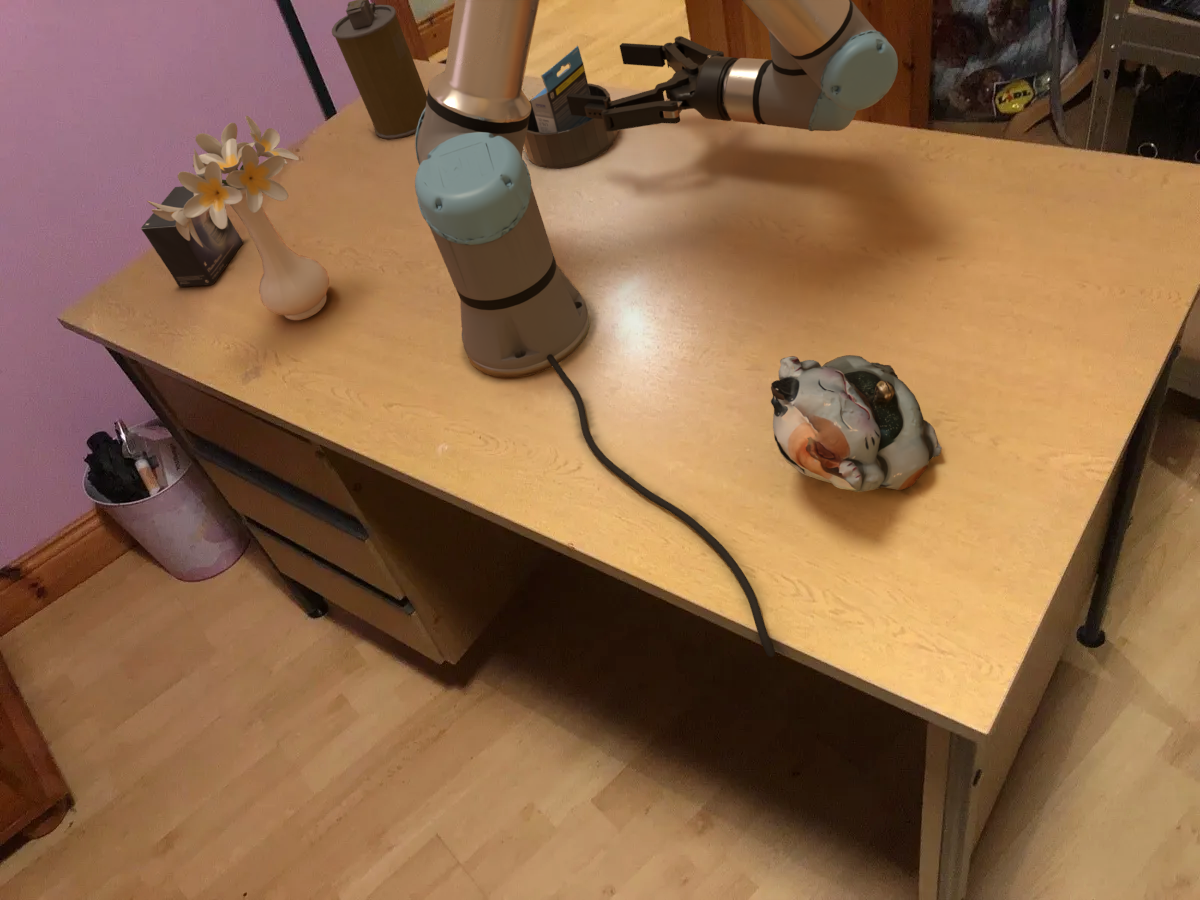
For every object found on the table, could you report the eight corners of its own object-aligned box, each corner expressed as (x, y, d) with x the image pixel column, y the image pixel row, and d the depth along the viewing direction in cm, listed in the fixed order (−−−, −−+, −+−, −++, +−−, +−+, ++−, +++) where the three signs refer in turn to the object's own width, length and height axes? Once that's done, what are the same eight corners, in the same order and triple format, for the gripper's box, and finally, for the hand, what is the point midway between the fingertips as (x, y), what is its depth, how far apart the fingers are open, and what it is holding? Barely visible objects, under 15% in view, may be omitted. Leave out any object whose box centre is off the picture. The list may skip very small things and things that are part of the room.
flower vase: (226, 345, 126) (114, 183, 108) (315, 261, 135) (226, 99, 117) (292, 364, 119) (186, 196, 102) (381, 274, 129) (298, 105, 111)
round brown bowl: (637, 126, 140) (629, 92, 136) (573, 177, 134) (563, 142, 130) (571, 110, 148) (562, 76, 144) (508, 156, 143) (497, 123, 139)
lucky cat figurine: (962, 481, 84) (922, 437, 73) (841, 538, 89) (786, 505, 78) (892, 347, 91) (846, 288, 80) (783, 407, 96) (725, 359, 85)
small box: (215, 286, 137) (176, 225, 129) (178, 288, 139) (137, 229, 131) (246, 241, 143) (210, 181, 136) (210, 244, 145) (172, 185, 138)
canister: (430, 131, 154) (382, 9, 140) (371, 144, 156) (317, 25, 141) (438, 99, 161) (393, -20, 147) (381, 112, 163) (331, -5, 149)
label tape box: (578, 120, 144) (557, 42, 135) (599, 123, 142) (579, 44, 133) (544, 152, 140) (520, 73, 131) (565, 156, 138) (542, 76, 129)
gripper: (692, 171, 116) (554, 152, 126) (781, 68, 128) (648, 59, 138) (682, 115, 110) (539, 100, 121) (775, 13, 122) (638, 7, 133)
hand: (596, 78), depth 130 cm, fingers open, 13 cm apart
